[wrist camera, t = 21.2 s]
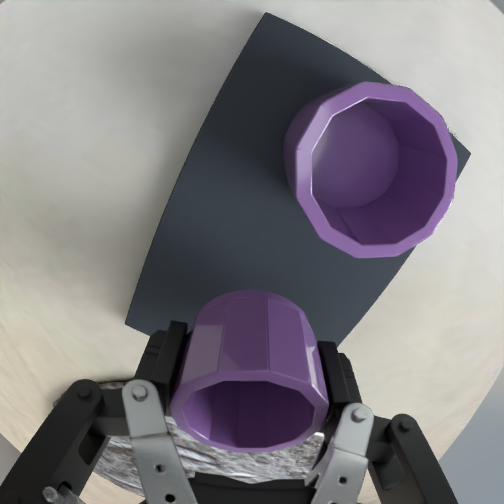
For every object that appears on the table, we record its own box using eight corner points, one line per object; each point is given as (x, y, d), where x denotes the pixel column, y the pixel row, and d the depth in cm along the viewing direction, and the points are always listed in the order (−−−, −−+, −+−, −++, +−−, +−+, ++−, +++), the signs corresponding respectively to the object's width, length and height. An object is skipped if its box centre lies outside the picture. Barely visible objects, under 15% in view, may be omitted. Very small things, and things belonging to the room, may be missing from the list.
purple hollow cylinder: (321, 67, 11) (352, 47, 7) (421, 137, 12) (479, 153, 8) (259, 177, 13) (260, 209, 9) (362, 233, 14) (398, 282, 10)
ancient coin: (56, 458, 31) (55, 460, 31) (53, 316, 17) (50, 319, 17) (245, 517, 38) (245, 519, 37) (404, 436, 24) (405, 439, 24)
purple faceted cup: (219, 267, 12) (203, 346, 8) (335, 318, 13) (359, 396, 9) (175, 354, 14) (154, 428, 10) (273, 389, 15) (276, 461, 11)
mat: (265, 15, 10) (265, 11, 10) (465, 151, 12) (471, 153, 12) (127, 318, 17) (124, 324, 17) (296, 383, 20) (297, 390, 19)
